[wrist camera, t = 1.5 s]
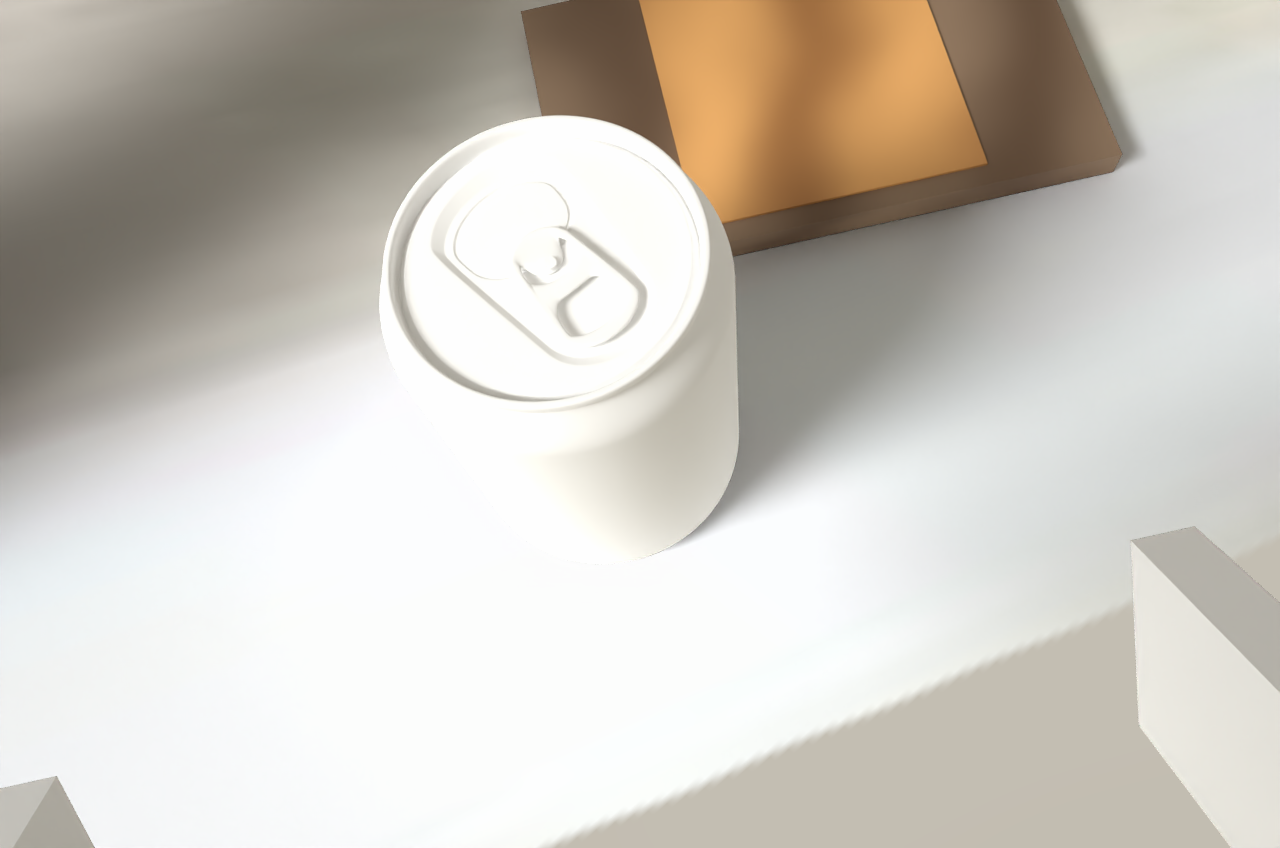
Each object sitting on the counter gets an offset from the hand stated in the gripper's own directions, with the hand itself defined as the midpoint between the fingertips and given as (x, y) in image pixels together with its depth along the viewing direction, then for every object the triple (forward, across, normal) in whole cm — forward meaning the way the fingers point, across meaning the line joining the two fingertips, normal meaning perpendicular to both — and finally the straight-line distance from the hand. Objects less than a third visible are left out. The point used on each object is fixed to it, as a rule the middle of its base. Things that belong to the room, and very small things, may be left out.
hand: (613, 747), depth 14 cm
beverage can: (+21, 0, -5) cm, 22 cm away
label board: (+29, +9, +3) cm, 30 cm away
